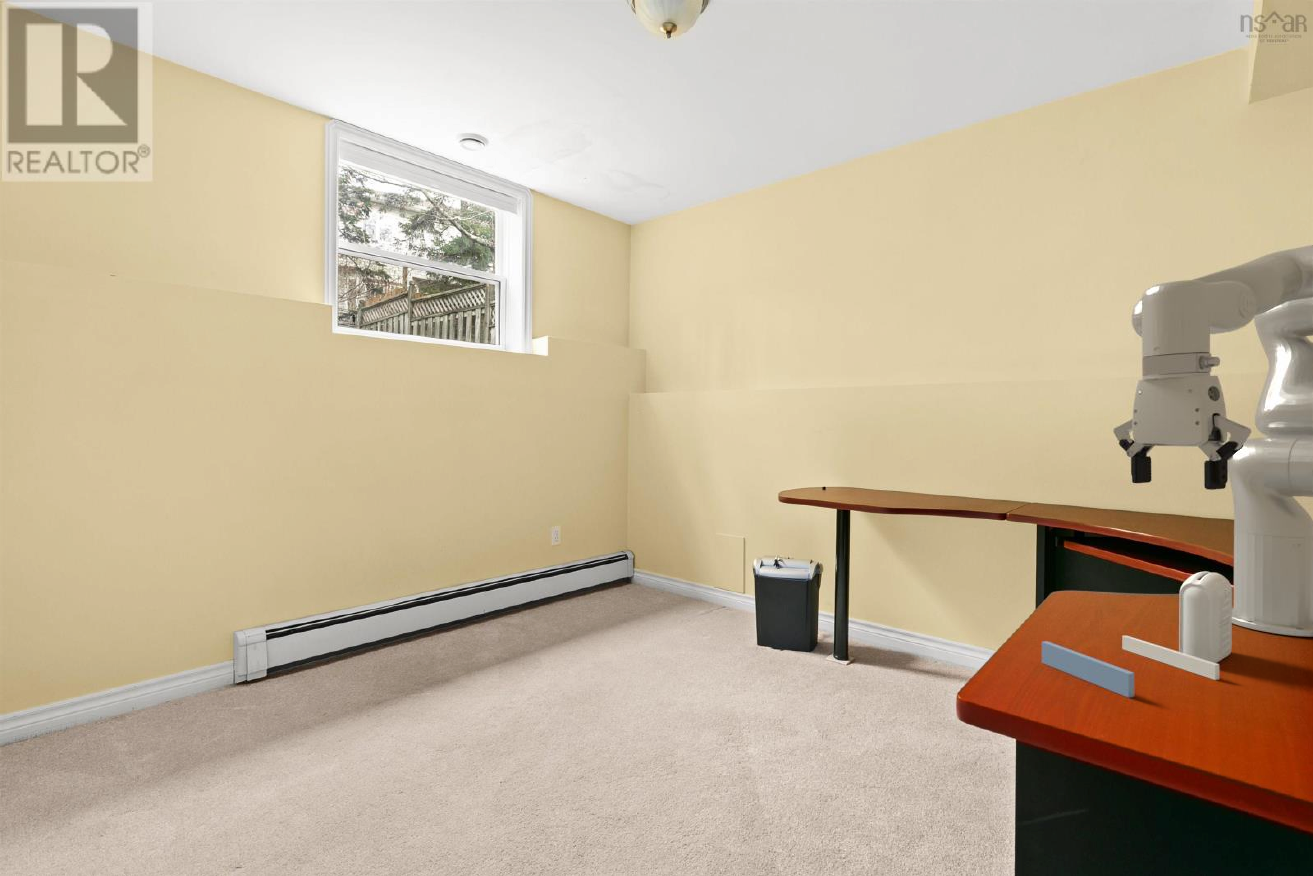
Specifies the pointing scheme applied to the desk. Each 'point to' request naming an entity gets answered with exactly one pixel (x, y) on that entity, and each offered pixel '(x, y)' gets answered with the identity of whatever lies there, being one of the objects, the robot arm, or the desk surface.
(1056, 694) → the desk surface
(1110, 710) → the desk surface
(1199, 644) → the photo printer
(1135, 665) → the desk surface
